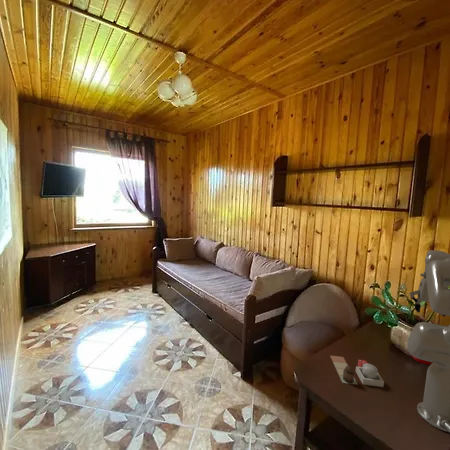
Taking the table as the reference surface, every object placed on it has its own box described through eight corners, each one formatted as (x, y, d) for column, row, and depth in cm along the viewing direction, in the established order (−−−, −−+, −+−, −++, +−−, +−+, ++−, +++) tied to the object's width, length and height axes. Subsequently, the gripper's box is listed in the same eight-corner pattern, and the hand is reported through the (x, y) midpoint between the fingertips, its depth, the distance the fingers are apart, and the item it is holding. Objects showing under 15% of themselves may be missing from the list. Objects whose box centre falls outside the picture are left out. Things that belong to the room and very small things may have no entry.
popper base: (384, 388, 110) (385, 379, 110) (362, 385, 112) (363, 376, 111) (369, 366, 125) (370, 358, 125) (350, 364, 126) (351, 356, 126)
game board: (358, 386, 111) (358, 384, 111) (341, 384, 112) (341, 382, 112) (343, 358, 131) (343, 356, 131) (329, 356, 132) (329, 355, 132)
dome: (379, 381, 112) (380, 373, 111) (365, 379, 113) (366, 371, 112) (373, 372, 118) (374, 364, 117) (359, 370, 118) (360, 362, 118)
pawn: (355, 383, 112) (356, 370, 111) (344, 382, 112) (346, 368, 112) (351, 376, 116) (352, 363, 115) (341, 375, 117) (342, 362, 116)
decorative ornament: (409, 358, 133) (409, 353, 133) (412, 351, 140) (413, 346, 140) (432, 367, 126) (433, 361, 126) (434, 359, 133) (435, 354, 133)
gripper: (415, 277, 113) (410, 313, 115) (462, 282, 108) (457, 320, 109) (409, 272, 120) (405, 306, 122) (453, 277, 115) (448, 313, 116)
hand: (429, 313), depth 116 cm, fingers open, 9 cm apart
